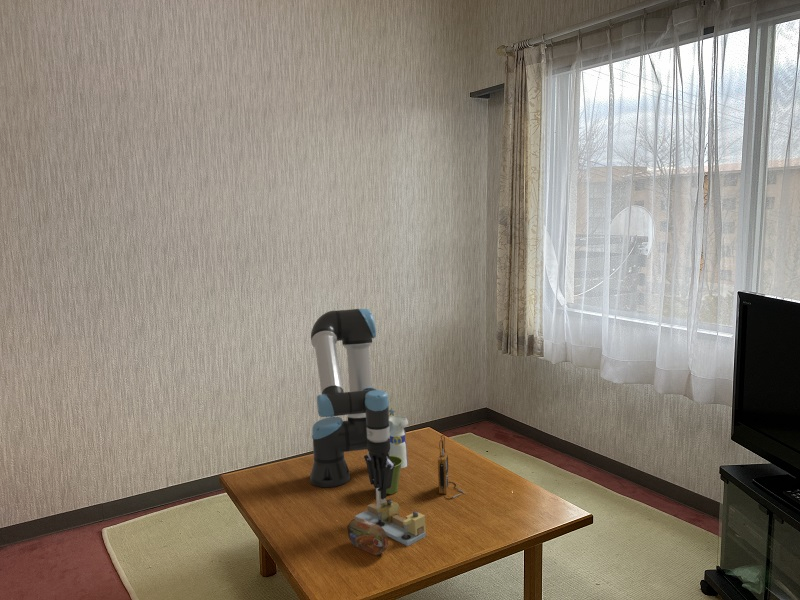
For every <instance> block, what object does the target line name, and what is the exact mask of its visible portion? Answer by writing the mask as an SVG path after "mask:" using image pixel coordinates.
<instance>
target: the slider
mask: <svg viewBox="0 0 800 600" xmlns="http://www.w3.org/2000/svg"><path fill="white" fill-rule="evenodd" d="M377 512H378V523H379V524H382V521H381V519H382V520H384V521H386V522H389V523H390V522H391V516H393V515H395V514H396V515H398V516H400V505H399V503H398V502H396V501H393V500H392V499H387V500H386V502H385V503H383V504H381V505H380V508H378V509H377Z"/></svg>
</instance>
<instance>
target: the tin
mask: <svg viewBox="0 0 800 600" xmlns="http://www.w3.org/2000/svg"><path fill="white" fill-rule="evenodd" d="M347 535H348V539H349V541H350V542H351V544H352V545H353V547H355V548H357V549H360V550H362V551H365V552H366V553H369V554H371V555H374V556H380V555H381V554H383V553H384V552H385V551H386V550H387V549H388V546H389V540H388V536H387V534H386V532H385V531H384V529H383V528H382V527H381V526H379V525H376V524H374V523H371V522H369V521H366V520H364V519H360V518H359V519H356V520H355V519H353V520H351V521H349V523H348V525H347Z"/></svg>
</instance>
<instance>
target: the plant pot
mask: <svg viewBox="0 0 800 600" xmlns="http://www.w3.org/2000/svg"><path fill="white" fill-rule="evenodd" d="M389 457H390V459H389V460H390V461H391V462H392V463H393V462H394V463H395V467H394V469H393V475H392V482H391V488H389V489H386V495H393V494H395V493H397V492H398V490H399V481H400V475H401V469H402V468H401V464H402V462H403V460H402V459H401V458H400V457H397V456H389Z"/></svg>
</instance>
